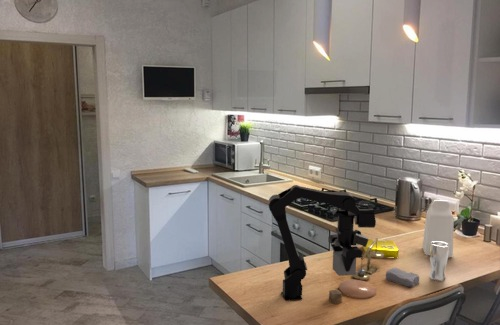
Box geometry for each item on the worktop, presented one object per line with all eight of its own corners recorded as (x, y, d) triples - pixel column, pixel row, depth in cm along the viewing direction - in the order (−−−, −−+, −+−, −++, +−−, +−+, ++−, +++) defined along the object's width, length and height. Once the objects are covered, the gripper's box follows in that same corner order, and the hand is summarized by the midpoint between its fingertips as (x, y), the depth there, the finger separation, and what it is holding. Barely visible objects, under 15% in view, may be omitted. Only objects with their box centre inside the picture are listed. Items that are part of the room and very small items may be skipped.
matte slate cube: (338, 275, 158) (339, 257, 157) (332, 269, 164) (333, 251, 163) (355, 274, 159) (356, 256, 158) (348, 267, 165) (349, 250, 164)
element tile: (393, 248, 218) (393, 239, 218) (398, 259, 204) (399, 249, 203) (362, 246, 221) (362, 237, 220) (366, 257, 206) (366, 247, 205)
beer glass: (424, 276, 184) (427, 242, 182) (437, 274, 186) (440, 240, 184) (436, 282, 178) (439, 247, 175) (449, 280, 180) (452, 245, 178)
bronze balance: (366, 282, 177) (367, 253, 175) (349, 278, 181) (351, 249, 179) (385, 264, 197) (387, 237, 195) (370, 260, 201) (371, 234, 199)
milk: (425, 255, 209) (429, 202, 205) (422, 247, 220) (426, 196, 216) (452, 257, 206) (457, 204, 202) (447, 249, 217) (452, 198, 213)
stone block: (394, 277, 187) (383, 279, 180) (396, 266, 187) (385, 268, 180) (421, 287, 179) (410, 289, 172) (423, 275, 179) (413, 277, 172)
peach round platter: (347, 299, 162) (348, 296, 162) (333, 283, 175) (333, 281, 175) (382, 296, 164) (382, 293, 164) (365, 281, 178) (366, 278, 178)
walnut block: (332, 303, 159) (332, 294, 158) (329, 299, 162) (329, 290, 162) (341, 302, 159) (341, 293, 159) (337, 298, 163) (338, 289, 162)
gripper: (377, 233, 151) (375, 276, 154) (355, 219, 170) (354, 257, 172) (347, 235, 149) (345, 278, 152) (328, 220, 168) (327, 259, 170)
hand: (344, 267), depth 161 cm, fingers closed on matte slate cube, 6 cm apart
